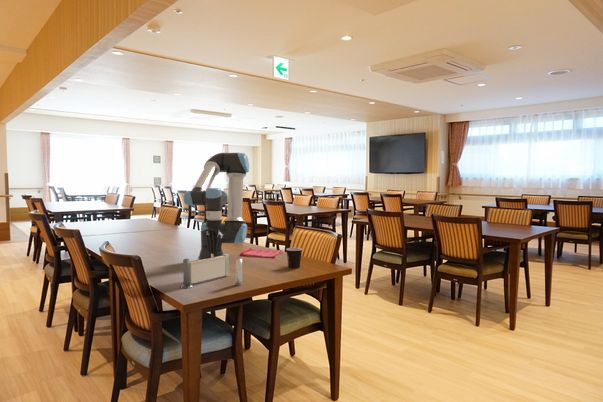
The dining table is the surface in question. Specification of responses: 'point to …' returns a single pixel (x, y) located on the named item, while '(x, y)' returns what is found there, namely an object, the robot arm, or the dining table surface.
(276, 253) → the dish towel
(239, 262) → the gate posts
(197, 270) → the gate
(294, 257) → the coffee mug
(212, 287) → the dining table surface
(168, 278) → the dining table surface
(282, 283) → the dining table surface
